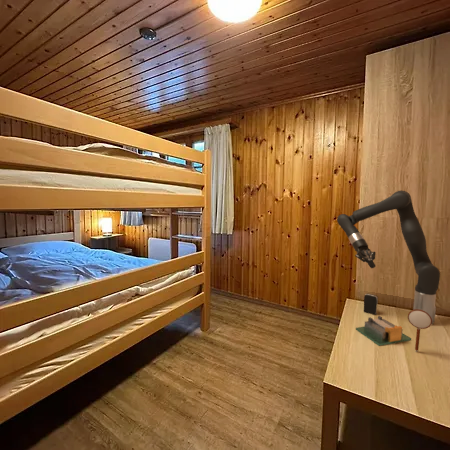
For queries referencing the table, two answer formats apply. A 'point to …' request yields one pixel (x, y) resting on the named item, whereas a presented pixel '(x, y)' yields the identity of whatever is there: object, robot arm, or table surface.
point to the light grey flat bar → (381, 323)
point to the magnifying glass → (419, 322)
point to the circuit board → (382, 332)
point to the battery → (370, 303)
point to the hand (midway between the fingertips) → (373, 267)
